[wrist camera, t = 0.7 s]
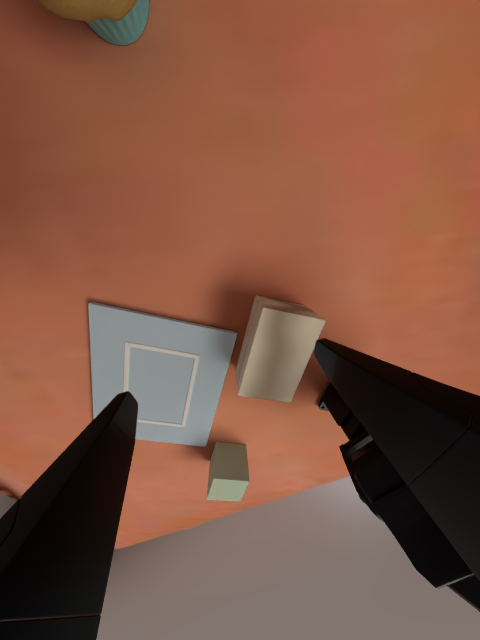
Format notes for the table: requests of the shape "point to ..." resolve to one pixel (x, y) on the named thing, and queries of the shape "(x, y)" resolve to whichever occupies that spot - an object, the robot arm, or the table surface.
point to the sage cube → (228, 472)
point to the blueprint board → (159, 370)
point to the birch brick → (276, 348)
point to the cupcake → (106, 16)
